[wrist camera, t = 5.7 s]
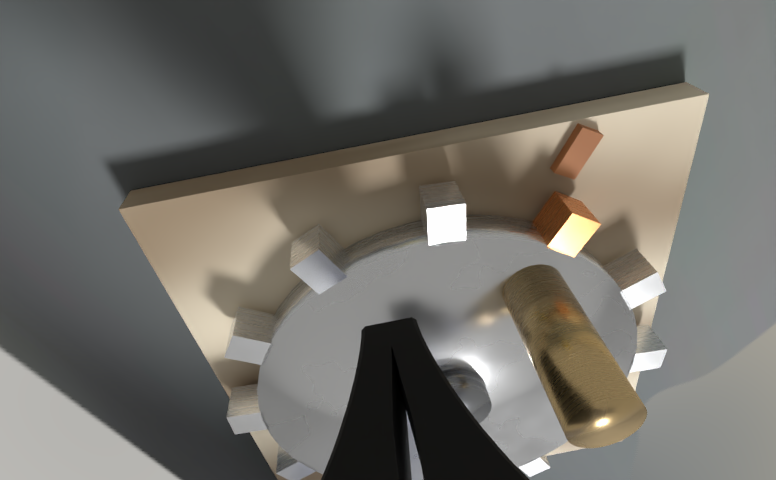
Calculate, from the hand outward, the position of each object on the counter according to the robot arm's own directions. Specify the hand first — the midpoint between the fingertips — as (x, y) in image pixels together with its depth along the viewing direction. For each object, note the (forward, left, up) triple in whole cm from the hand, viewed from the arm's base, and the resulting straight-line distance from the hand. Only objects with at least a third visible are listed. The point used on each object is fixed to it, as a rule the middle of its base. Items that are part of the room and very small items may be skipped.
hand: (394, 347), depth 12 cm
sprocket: (-5, -2, -3) cm, 6 cm away
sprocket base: (-5, -2, -4) cm, 6 cm away
